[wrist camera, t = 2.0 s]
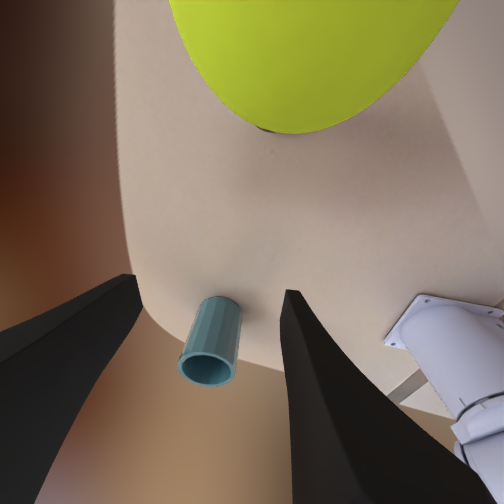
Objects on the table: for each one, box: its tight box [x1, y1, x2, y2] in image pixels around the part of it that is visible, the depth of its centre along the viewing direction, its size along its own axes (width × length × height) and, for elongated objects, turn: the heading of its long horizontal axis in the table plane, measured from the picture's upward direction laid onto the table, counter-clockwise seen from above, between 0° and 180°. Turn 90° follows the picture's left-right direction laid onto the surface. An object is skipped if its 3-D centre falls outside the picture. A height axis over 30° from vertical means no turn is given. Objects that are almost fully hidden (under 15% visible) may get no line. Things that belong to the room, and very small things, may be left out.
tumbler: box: [178, 297, 242, 387], centre depth 22 cm, size 5×5×7 cm
